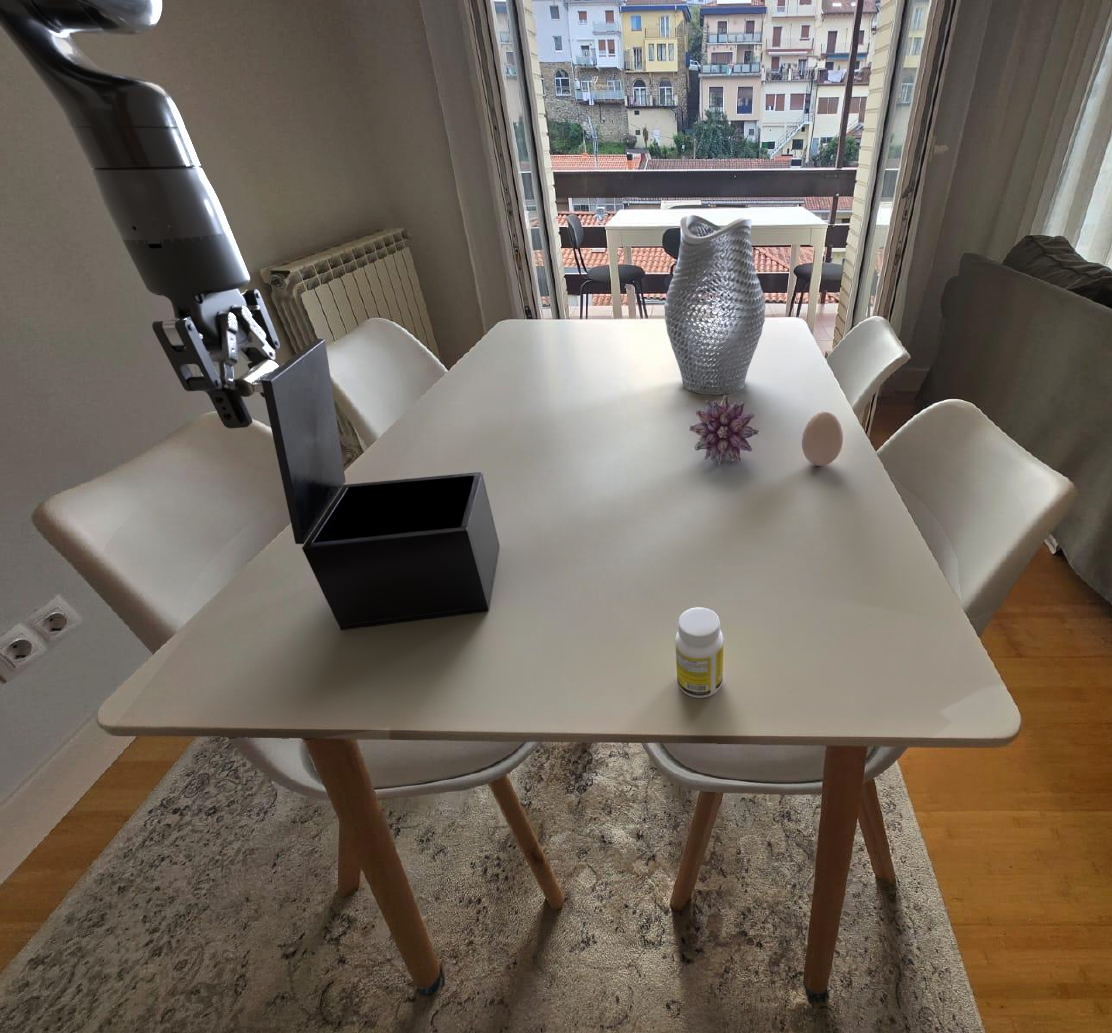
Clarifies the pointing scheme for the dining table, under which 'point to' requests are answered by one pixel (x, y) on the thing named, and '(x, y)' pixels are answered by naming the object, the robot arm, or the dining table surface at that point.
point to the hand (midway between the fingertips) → (258, 410)
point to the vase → (747, 303)
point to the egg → (822, 439)
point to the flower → (723, 430)
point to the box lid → (301, 431)
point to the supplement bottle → (699, 652)
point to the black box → (406, 550)
